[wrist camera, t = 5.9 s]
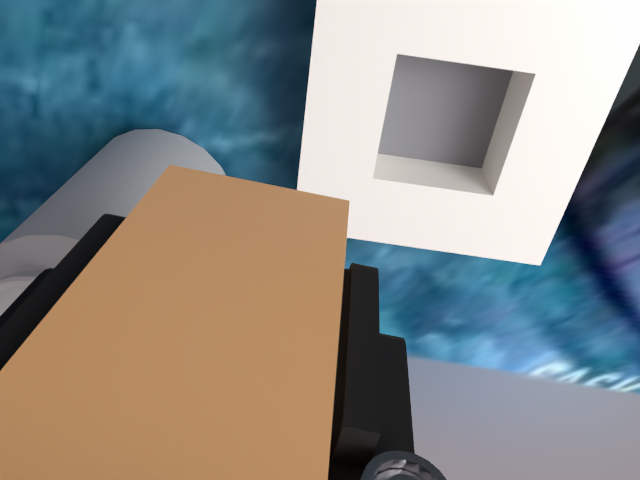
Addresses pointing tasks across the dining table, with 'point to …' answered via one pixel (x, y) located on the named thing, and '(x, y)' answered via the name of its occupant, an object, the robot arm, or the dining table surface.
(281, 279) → the charger
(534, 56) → the outlet plate
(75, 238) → the can
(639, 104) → the dining table surface
